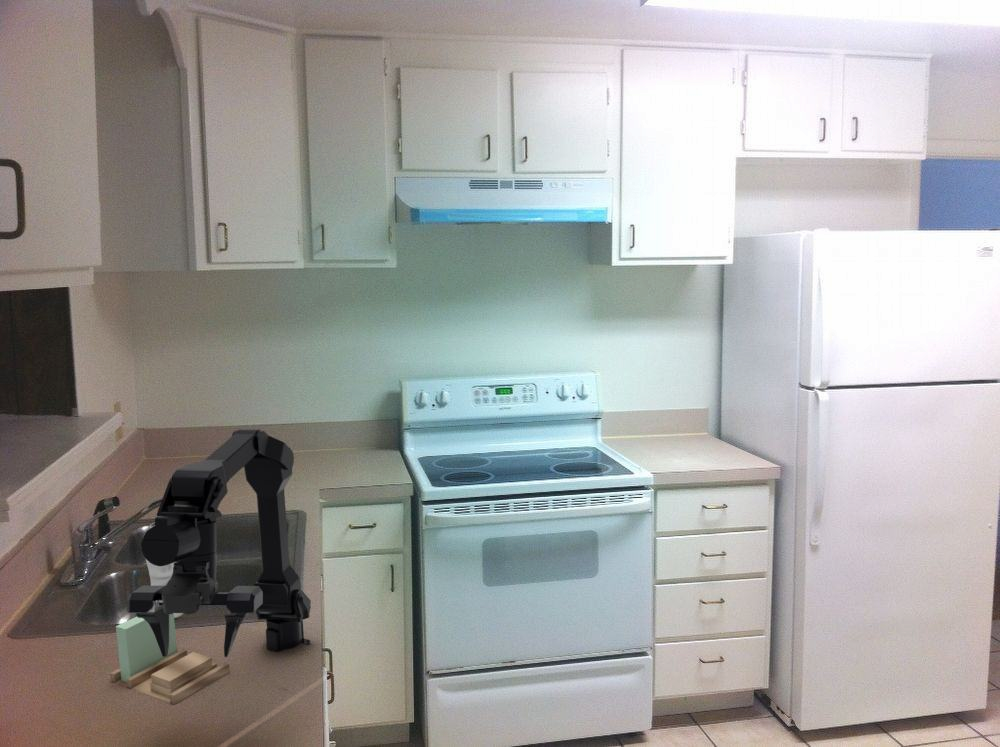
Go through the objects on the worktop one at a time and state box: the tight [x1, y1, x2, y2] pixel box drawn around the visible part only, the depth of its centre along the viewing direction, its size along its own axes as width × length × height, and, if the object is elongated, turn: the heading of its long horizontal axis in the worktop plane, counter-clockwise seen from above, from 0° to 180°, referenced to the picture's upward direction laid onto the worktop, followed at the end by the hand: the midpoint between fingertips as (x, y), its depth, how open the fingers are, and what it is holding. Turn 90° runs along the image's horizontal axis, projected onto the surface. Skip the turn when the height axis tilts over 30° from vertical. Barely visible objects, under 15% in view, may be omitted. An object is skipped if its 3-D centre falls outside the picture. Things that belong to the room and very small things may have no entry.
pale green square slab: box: [115, 613, 178, 682], centre depth 159 cm, size 10×2×10 cm, turn 150°
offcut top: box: [151, 651, 213, 690], centre depth 155 cm, size 9×5×2 cm, turn 150°
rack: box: [109, 648, 231, 705], centre depth 157 cm, size 12×16×2 cm
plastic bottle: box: [145, 522, 184, 620], centre depth 180 cm, size 6×7×20 cm
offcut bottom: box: [150, 661, 218, 698], centre depth 155 cm, size 10×5×2 cm, turn 150°
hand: (195, 656), depth 136 cm, fingers open, 9 cm apart
